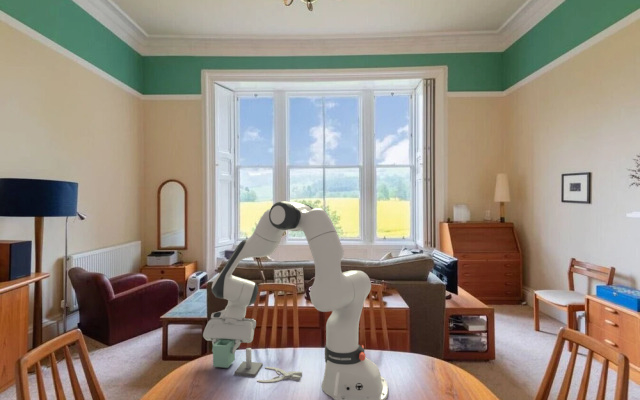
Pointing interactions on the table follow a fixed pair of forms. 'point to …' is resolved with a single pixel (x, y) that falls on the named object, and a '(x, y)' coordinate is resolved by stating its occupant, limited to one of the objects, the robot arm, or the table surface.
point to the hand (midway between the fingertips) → (223, 352)
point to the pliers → (289, 375)
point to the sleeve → (223, 353)
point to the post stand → (248, 366)
